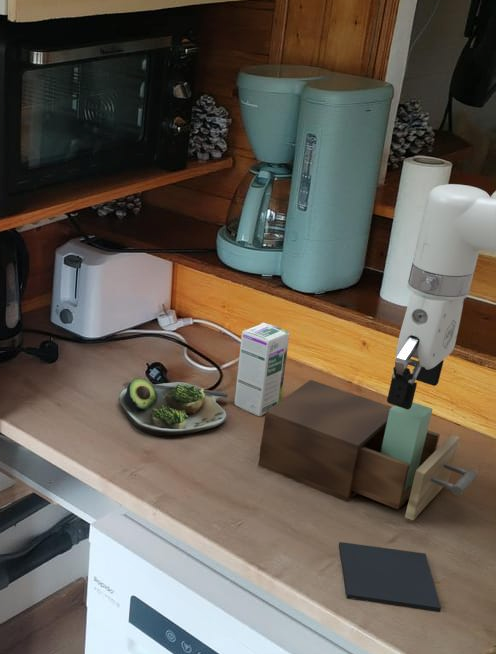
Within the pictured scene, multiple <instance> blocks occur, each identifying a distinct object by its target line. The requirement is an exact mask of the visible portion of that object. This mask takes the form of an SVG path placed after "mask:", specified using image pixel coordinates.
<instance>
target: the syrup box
mask: <svg viewBox="0 0 496 654" xmlns="http://www.w3.org/2000/svg"><path fill="white" fill-rule="evenodd" d="M290 335H291V334H290V331H288V330H285V329H283V328H281V327H279V326H277V325H274V324H270V323H266V322H261V323H260V324H257V325H255V326H252V327H249V328H247V329H244V330H242V331H241V339H240V346H239V347H240V349H239V356H238V357H239V358H238V366H237V374H236V376H237V377H236V383H235V384H236V385H235V394H234V403H233V404H234V406H236V407H238V408H240V409H241V410H243V411H246V412H248V413H251V414H253V415H255V416H257V417H262V416H264V415H265V414H266V411H267V410H269V409H270V408H271V407H273V406H274V405H276V404H277V403H278V402H280V401H281V400H282V394H283V386H284V379H285V372H286V371H285V370H286V366H287V365H286V363H287V356H288V350H289V349H288V347H289V341H290Z"/></svg>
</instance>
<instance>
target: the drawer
mask: <svg viewBox="0 0 496 654" xmlns="http://www.w3.org/2000/svg"><path fill="white" fill-rule="evenodd" d="M385 429H386V426H384V427H383V428H382V429H381V430H380V431H379V432H378V433H377V434H375V435H374V436H373V437H372V438H371V439H370V440H369V441H367V442H366V443H365V444H364V445H363V446H362V447H361V448H360V451H359V456H358V461H357V466H356V471H355V476H354V480H353V485H352V490H351V491H353V492H356V494H358V495H360V496H363V497H366V498H368V499H371V500H373V501H376V502H378V503H381V504H383V505H386V506H388V507H390V508H393V509H396V510H399V509H400V508H401V507H402V506H403V505H404V504H405V503H406V502H407V501H408V503H407V507H406V511H405V515H404V517H405V518H406V519H408V520H411V521H414V520H416V518H417V517H418V516H419V515H420V513H421V512H422V511H423V510H424V509H425V508H426V507H427V506H428V505H429V504H430V503H431V502H432V500H433V499H435V497H436V496H437V495H438V494H439V493H440V491H441V490H442V489H443V488H446V489H448V490H451V493H452V494H453V495H455V496H461V495H462V494H463V493H464V492H465V490H467V489H468V487H469V486H470V485H471V484H472V482H474V480H475V479H476V478H477V476H478V472H477V471H476V470H475V469H472V468H470V469H467V470H466V469H465V468H461V467H458V466H455V465H453V464H454V460H455V456H456V454H457V453H456V452H457V449H458V444H459V441H460V437H459V436H457V435H455V434H450V435H449V436H448V437H447V439H445V440H444V441H442V443H441V444H440V446H438V444H439V440H440V436H441V435H440V433H437V432H435V431H432V430H429V429H428V430H427V434H426V439H425V443H424V447H423V451H422V455H421V460H420V464H419V468H418V469H417V470H416V472H415V477H414V481H413V483H412V484H411V485H410V486H409V487H408V488H407V489H406V490H405V491H404V488H405V484H406V480H407V475H408V471H409V467H410V464H409V463H406V462H403V461H401V460H398V459H395V458H393V457H390V456H387V455H385V454H382V453H381V448H382V443H383V439H384V434H385ZM451 472H454V473H456V474H459V475H462V476H461V477H460V478H459V479H458V480H457V482H456V483H454V484H453V483H450V482H449V480H450V475H451Z"/></svg>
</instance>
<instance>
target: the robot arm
mask: <svg viewBox="0 0 496 654" xmlns="http://www.w3.org/2000/svg"><path fill="white" fill-rule="evenodd" d="M480 251H483V252H486V253H490V254H493V255H496V190H495V191H494V192H493V193H492V194H491V195H489V194H488V192H487V191H485V190H483V189H481V188H479V187H476V186H472V185H465V184H457V183H447V184H440V185H437V186H435V187H433V188H432V189H431V190H430V191H429V192H428V194H427V198H426V200H425V205H424V209H423V215H422V219H421V222H420V228H419V232H418V237H417V240H416V246H415V250H414V254H413V259H412V265H411V267H410V271H409V272H410V273H409V277H408V281H407V289H409V290H410V291H411V295H410V298H409V301H408V303H407V306H406V310H405V313H404V318H403V320H402V324H401V328H400V332H399V336H398V340H397V344H396V351H395V361H394V366H393V370H392V371H393V372H392V374H391V380H390V385H389V390H388V395H387V398H386V402H387V404H390V405H392V406H394V405H395V406H398V407H401V408H404V409H407V410H408V409H410V408H411V407H412V403H413V402H414V399H415V395H416V390H417V385H418V382H421V383H424V384H426V385H429V386H433V387H436V386H437V385H438V384H439V381H440V378H441V374H442V369H443V365H444V361H445V359H447V357H449V355H451V354H452V352H453V351H454V349H455V346H456V342H457V337H458V333H459V329H460V324H461V318H462V313H463V307H464V303H465V302H464V301H465V299H466V298H468V296H469V293H470V289H471V285H472V281H473V278H474V274H475V269H476V266H477V262H478V259H479V254H480ZM412 358H415V359H417V360H415V359H412ZM408 366H409V367H412V368H413V369H412V371H411V369H410V368H408ZM416 381H417V382H416Z"/></svg>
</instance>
